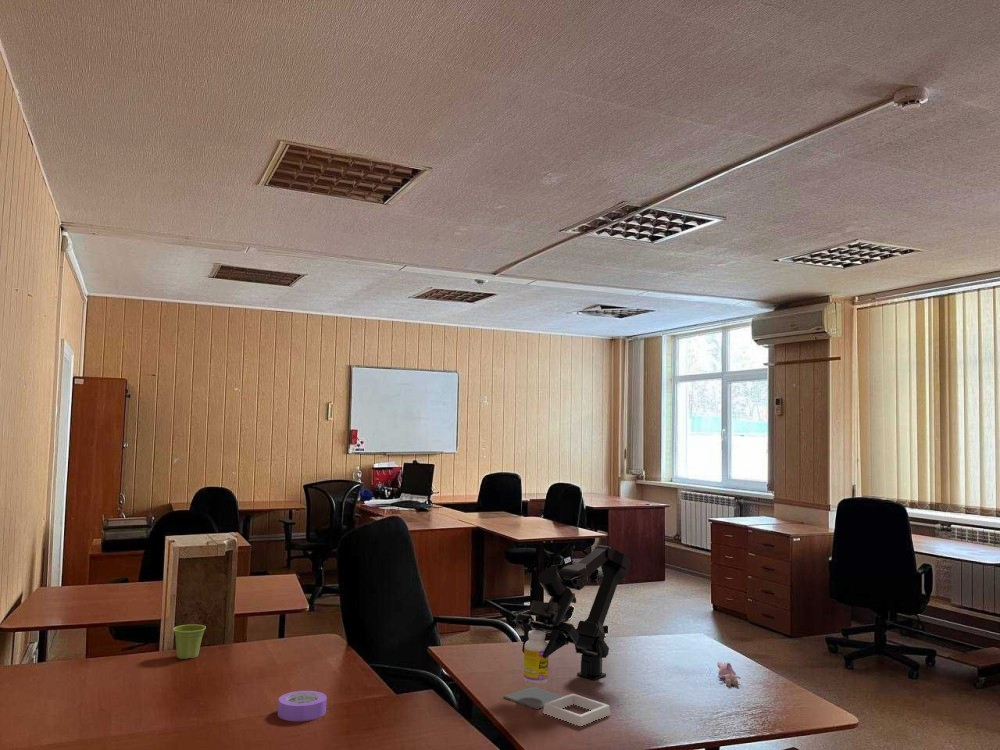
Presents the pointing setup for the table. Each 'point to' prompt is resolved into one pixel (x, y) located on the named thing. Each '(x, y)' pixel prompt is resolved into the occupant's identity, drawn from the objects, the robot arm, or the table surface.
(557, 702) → the holder
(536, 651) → the supplement bottle
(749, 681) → the table surface
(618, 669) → the table surface
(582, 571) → the robot arm
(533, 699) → the mat
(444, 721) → the table surface
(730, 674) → the pink plastic figurine
